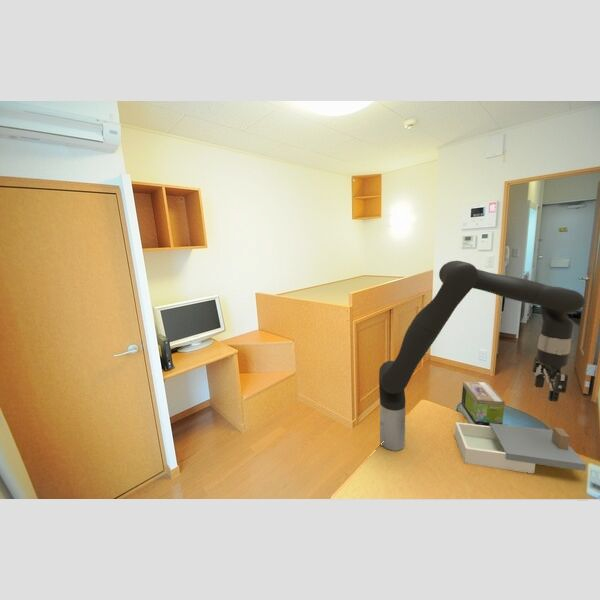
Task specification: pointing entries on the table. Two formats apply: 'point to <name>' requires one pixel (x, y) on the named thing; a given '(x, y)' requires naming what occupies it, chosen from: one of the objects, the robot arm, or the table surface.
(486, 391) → the tea box
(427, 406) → the table surface
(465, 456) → the box
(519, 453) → the lid
